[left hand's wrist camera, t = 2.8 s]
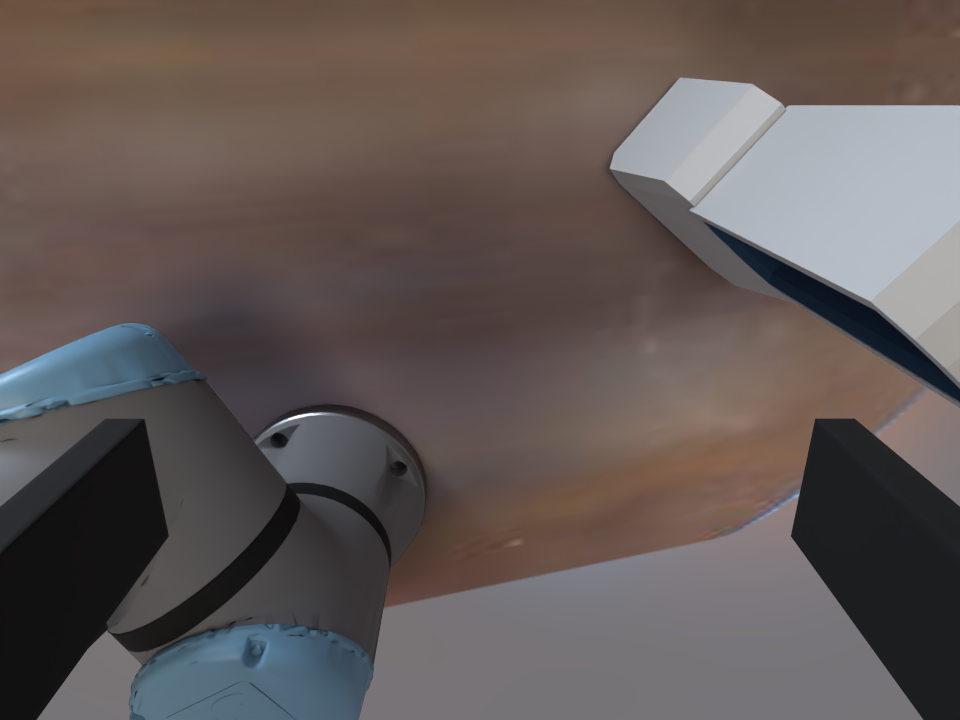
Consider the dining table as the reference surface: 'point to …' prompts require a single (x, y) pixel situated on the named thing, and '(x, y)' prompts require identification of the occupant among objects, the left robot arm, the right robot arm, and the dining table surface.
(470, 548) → the dining table surface
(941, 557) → the left robot arm
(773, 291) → the electronic device
